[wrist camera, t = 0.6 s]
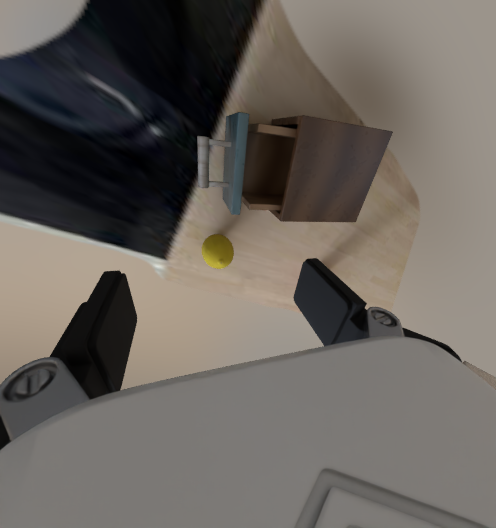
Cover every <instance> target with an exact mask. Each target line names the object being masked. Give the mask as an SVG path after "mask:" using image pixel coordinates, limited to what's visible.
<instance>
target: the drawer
mask: <svg viewBox="0 0 496 528" xmlns="http://www.w3.org/2000/svg"><path fill="white" fill-rule="evenodd" d="M248 122H249V114H247V113H241V112H238V113H235V114H232V115H229V116H226V131H225V141H220V140H212V139H209V137H204V136H197V139H198V186H199V187H200V188H208V187H209V186H213V187H223V200H224V202H225V204H226V205H227V207H228V209H229V210H230V212H231V214H236V215H240V209H241V200H242V202H243V203H244V204H245V205H246V206H247V207H248V209H249V210H281V207H282V202H283V197H284V192H285V187H286V182H287V177H288V172H289V167H290V162H291V157H292V152H293V147H294V142H295V137H296V132H297V129H292V128H285V127H279V126H273V125H266V124H260V123H259V124H248ZM209 145H216V146H224V147H225V155H224V178H223V182H216V181H209Z"/></svg>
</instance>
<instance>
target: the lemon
mask: <svg viewBox="0 0 496 528" xmlns="http://www.w3.org/2000/svg"><path fill="white" fill-rule="evenodd" d="M202 255H203V258H204V260H205V261H206V263H207V264H208V265H209V266H211V267H213V268H217V269H221V268H224V267H226V266H228V265H229V264H230V263H231V261H232V259H233V255H234V250H233V246H232V243H231V242H230V241H229V239H228V238H226V237H225V236H223V235H219V234H214V235H211V236H209V237H208V238H207V239H206V240H205V241H204V243H203V245H202Z"/></svg>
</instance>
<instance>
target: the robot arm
mask: <svg viewBox="0 0 496 528" xmlns="http://www.w3.org/2000/svg"><path fill="white" fill-rule="evenodd" d="M294 301H295V303H296V305H297V306H298V308H299V309H300V311H301V312H302V313H303V315H304V316H305V318H306V319H307V321H308V322H309V324H310V325H311V327H312V328H313V330H314V331H315V333H316V334H317V336H318V337H319V339H320V340H321V341H322V343H323V345H324V347H319V348H314V349H309V350H304V351H299V352H294V353H289V354H284V355H280V356H275V357H270V358H265V359H260V360H255V361H250V362H245V363H241V364H236V365H231V366H226V367H222V368H218V369H213V370H208V371H203V372H198V373H194V374H189V375H184V376H179V377H175V378H171V379H166V380H162V381H157V382H153V383H149V384H144V385H140V386H136V387H132V388H128V389H124V390H120V389H121V386H122V381H123V377H124V373H125V369H126V364H127V361H128V357H129V352H130V348H131V344H132V340H133V336H134V332H135V328H136V323H137V314H136V311H135V307H134V304H133V300H132V296H131V292H130V288H129V285H128V281H127V278H126V275H125V274H124V273H123V274H121V272H120V271H106V272H104V273H103V274H102V276H101V278H100V280H99V282H98V283H97V285H96V287H95V289H94V290H93V292H92V294H91V296H90V298H89V299H88V301H87V302H84V303H82V304H81V305H80V307H79V308H78V310H77V312H76V313H75V315H74V317H73V318H72V320H71V322H70V323H69V325H68V327H67V329H66V330H65V332H64V334H63V335H62V337H61V338H60V340H59V342H58V343H57V345H56V347H55V348H54V350H53V352H52V354H51V355H50V357H47V358H41V359H38V360H35V361H32V362H30V363H28V364H26V365H24V366H22V367H20V368H19V369H17V370H16V371H14V372H13V373H12V374H11V375H9V376H8V377H7V378H6V379H5V380H4V381H3V382H2V384H1V385H0V528H496V377H494V376H492V375H490V374H488V373H486V372H485V371H483V370H481V369H479V368H477V367H475V366H473V365H472V364H470V363H468V362H466V361H464V362H463V363H462V361H461V359H460V357H459V356H458V355H457V354H456V353H455V352H454V351H453V350H452V349H451V348H450V347H449V346H447V345H446V344H443V343H441V342H438V341H436V340H433V339H431V338H428V337H426V336H423V335H421V334H418V333H415V332H413V331H410V330H408V329H405V328H402V326H401V323H400V321H399V319H398V318H397V317H396V316H395V315H394V314H392V313H391V312H389V311H387V310H385V309H383V308H379V307H370V308H369V309H367V310H366V309H365V306H366V304H367V303H366V302H364V301H363V300H362V299H361V298H360V297H359V296H358V295H357V294H356V293H355V292H354V291H352V290H351V289H350V288H349V287H348V286H347V285H346V284H345V283H344V282H343V281H341V280H340V279H339V278H338V277H337V276H336V275H335V274H334V273H333V272H332V271H330V270H329V269H328V268H327V267H326V266H325V265H324V264H323V263H322V262H321V261H320V260H318V259H317V258H313V259H307V260H306V261H305V262H304V263H303V265H302V269H301V272H300V276H299V279H298V283H297V287H296V290H295V294H294Z"/></svg>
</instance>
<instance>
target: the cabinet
mask: <svg viewBox="0 0 496 528" xmlns="http://www.w3.org/2000/svg"><path fill="white" fill-rule="evenodd" d="M272 125H273V126H279V127H285V128H292V129H297V132H296V137H295V142H294V147H293V152H292V157H291V162H290V167H289V172H288V177H287V182H286V187H285V192H284V197H283V202H282V207H281V210H269V211H270V212H271V213H272V214H274V215H275V216H276V217H277V218H278V219H279V220H280V221H293V222H356V220H357V217H358V215H359V213H360V210H361V208H362V205H363V203H364V201H365V198H366V196H367V193H368V191H369V188H370V186H371V184H372V181H373V179H374V176H375V174H376V172H377V169H378V167H379V164H380V162H381V159H382V157H383V155H384V152H385V150H386V147H387V145H388V142H389V140H390V138H391V135H392V133H393V132H392V131H387V130H381V129H376V128H370V127H364V126H359V125H353V124H348V123H342V122H337V121H331V120H326V119H320V118H315V117H309V116H304V115H302V116H294V117H286V118H279V119H272Z"/></svg>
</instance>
